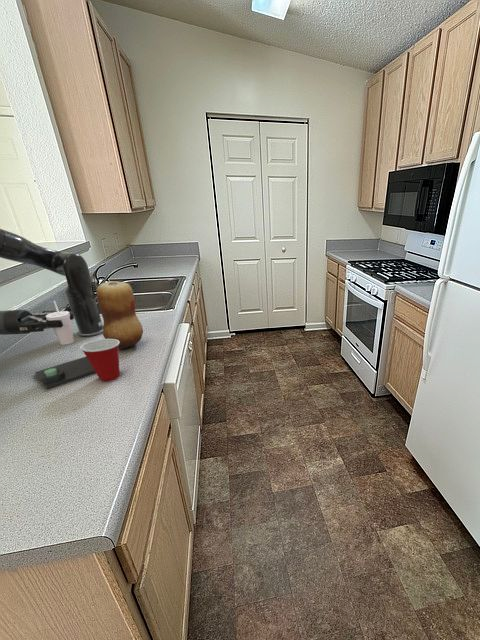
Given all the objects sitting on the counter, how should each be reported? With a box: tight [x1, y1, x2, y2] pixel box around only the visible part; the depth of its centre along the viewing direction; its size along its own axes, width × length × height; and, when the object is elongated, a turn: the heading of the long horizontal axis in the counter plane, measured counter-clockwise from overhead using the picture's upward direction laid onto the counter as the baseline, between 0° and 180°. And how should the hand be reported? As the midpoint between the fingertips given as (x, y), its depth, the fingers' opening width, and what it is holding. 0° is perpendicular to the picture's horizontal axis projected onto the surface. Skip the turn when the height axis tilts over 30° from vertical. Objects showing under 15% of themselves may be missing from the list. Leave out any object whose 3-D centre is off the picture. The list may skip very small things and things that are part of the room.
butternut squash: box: [96, 280, 144, 350], centre depth 124 cm, size 14×13×25 cm
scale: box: [34, 356, 96, 391], centre depth 110 cm, size 14×16×3 cm
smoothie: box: [46, 300, 75, 345], centre depth 106 cm, size 6×6×14 cm
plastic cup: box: [79, 338, 121, 382], centre depth 105 cm, size 11×11×12 cm
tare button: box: [44, 368, 58, 377], centre depth 104 cm, size 3×3×2 cm
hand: (67, 319), depth 106 cm, fingers closed on smoothie, 6 cm apart
